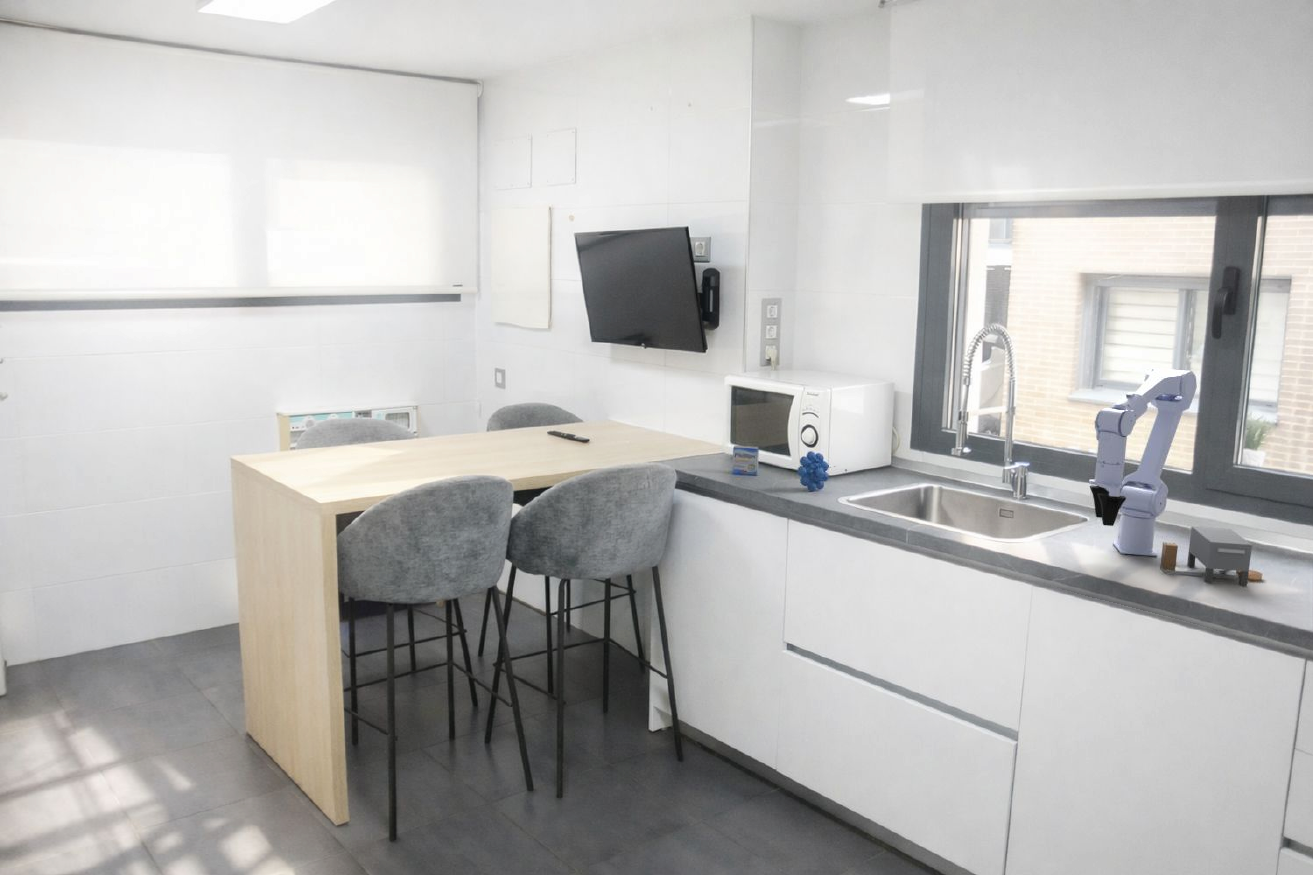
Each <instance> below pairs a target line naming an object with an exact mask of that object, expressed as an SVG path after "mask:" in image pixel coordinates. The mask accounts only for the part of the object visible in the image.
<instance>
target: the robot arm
mask: <svg viewBox="0 0 1313 875" xmlns="http://www.w3.org/2000/svg"><path fill="white" fill-rule="evenodd" d="M1197 387H1198V384H1197V376H1196V374H1195V372H1194V371H1192V370H1181V369H1180V370H1178V369H1168V368H1167V369H1165V368H1158V367H1154V366H1153V367H1151V368H1149V370H1148V371H1147V372H1146V373H1145V376H1144V382H1143V383H1142V385H1141V386H1140V387H1139V388H1138V389H1137V390H1136V391H1135V392H1133V391H1132V392H1130V391H1129V392H1127V393H1126V394H1125V395H1124V396H1123V397H1121V398H1120V399H1119V400H1117V402H1115V404H1113V405H1112V406H1111V407H1109V408H1108V407H1105V408H1103V409H1101V410H1099V411H1098V413H1097V415H1096V417H1095V420H1094V429H1095V432H1096V435H1095V437H1096V441H1098V442H1097V453H1096V454H1097V455H1096V462H1095V463H1096V464H1095V473H1094V479H1088V483H1089V484H1090V485H1089V488H1090V491H1091V494H1092V498H1093V504H1094V514H1095V517H1096V518H1101V520H1102V525H1103V526H1108V527H1109V526H1110V527H1114V525H1115V523H1116V519H1117V516H1118V514H1119V513H1121V514H1122V515H1120V518H1119V519H1118V520H1119V523H1118V529H1117V530H1118V531H1117V540H1116V541H1112V545H1113V546H1114V547H1115V548H1116V549H1117V551H1119V553H1120V554H1124V555H1135V556H1136V555H1138V556H1147V557H1149V556H1151V557H1158V553H1157V552H1156V551H1155V549H1153V547H1154V538H1155V528H1156V521H1157V520H1156V519H1157V517H1158V518H1159V516H1161V515H1162V514H1163V513H1164V511H1165V509H1166V506H1167V500H1168V499H1167V498H1168V494H1169V488H1168V485H1167V484H1166V483H1165V482H1164V481H1163V480H1162V479H1161V475H1162V472H1163V469H1164V466H1165V463H1166V460H1167V458H1168V456H1169V452H1170V451H1171V450H1170V449H1171V446H1172V445H1173V441H1174V438H1175V435H1176V433H1177V429H1178V427H1179V424H1180V421H1181V418H1182V415H1183V413H1184V412H1185V411H1187V410H1189V409H1190V407H1191V406H1192V405H1191V404H1192V402H1193V400H1194V397H1195V394H1196V391H1197V389H1198V388H1197ZM1149 403H1150V405H1151V406H1154V407H1155V408H1156V409H1157V413H1156V417H1155V420H1154V423H1153V426H1152V428H1151V431H1150V433H1149V436H1148V439H1147V442H1146V444H1145V448H1144V451H1143V453H1142V456H1141V458H1140V459H1141V460H1140V463H1139V464H1138V467H1137V470H1136V471H1134V472H1131V473H1130V474H1128V475H1126V476H1124V470H1125V459H1126V452H1127V451H1126V450H1127V449H1126V448H1127V439H1128V436H1130V435H1131V433H1132V432H1133V430H1134V427H1135V426H1136V423H1137V420H1138V419H1140V418H1141V417H1142V416H1143V415H1144V414H1145V413H1146V412H1147V411H1148V406H1149Z"/></svg>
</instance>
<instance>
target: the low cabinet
mask: <svg viewBox="0 0 1313 875" xmlns="http://www.w3.org/2000/svg"><path fill="white" fill-rule="evenodd" d="M1188 545H1189V547H1188V554H1187V563H1186V565H1187V566H1188V567H1190V568H1191V567H1192V568H1194V567H1195V566H1196V565H1195V564H1196V560H1198V561H1199V562H1200V563H1201V564H1202V565H1203V566H1205V569H1206V570H1205V576H1204V580H1203V582H1205V584H1213V579H1214V577H1213V571H1214V570H1221V571H1234V572H1236V571H1240V579H1238V585H1240V587H1247V586H1248V574H1249V570H1250V563H1251V557H1252V556H1251V555H1252V549H1253V545H1252V544H1251V542H1249V541H1247V540H1246V539H1245V538H1244V537H1242V536H1241V535H1239V534H1238V533H1237V532H1235V531H1233V530H1232V529H1231V528H1223V527H1208V526H1204V527H1203V526H1193V525H1192V526H1191V529H1190V537H1189V544H1188ZM1195 568H1196V567H1195Z"/></svg>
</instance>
